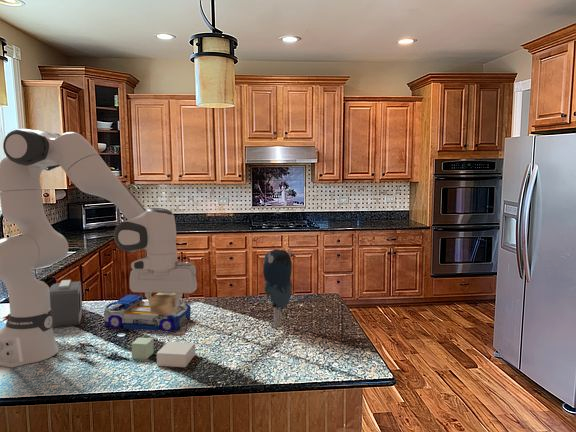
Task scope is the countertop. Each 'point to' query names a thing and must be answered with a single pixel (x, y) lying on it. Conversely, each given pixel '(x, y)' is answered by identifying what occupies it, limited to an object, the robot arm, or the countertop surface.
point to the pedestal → (176, 354)
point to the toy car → (144, 315)
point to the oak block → (162, 304)
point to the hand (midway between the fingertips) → (164, 306)
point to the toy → (278, 281)
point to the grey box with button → (66, 303)
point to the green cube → (142, 348)
